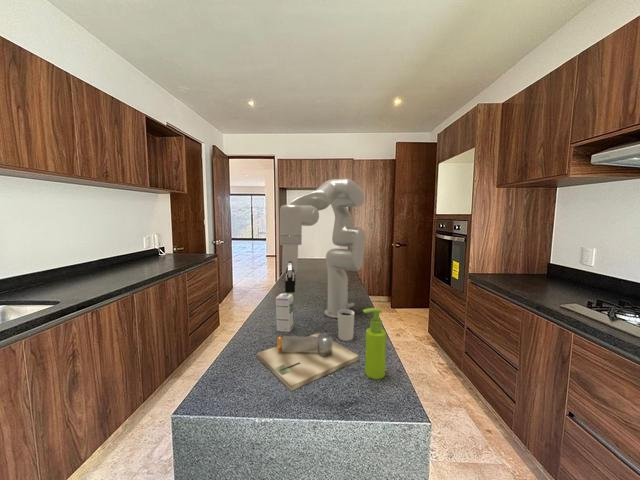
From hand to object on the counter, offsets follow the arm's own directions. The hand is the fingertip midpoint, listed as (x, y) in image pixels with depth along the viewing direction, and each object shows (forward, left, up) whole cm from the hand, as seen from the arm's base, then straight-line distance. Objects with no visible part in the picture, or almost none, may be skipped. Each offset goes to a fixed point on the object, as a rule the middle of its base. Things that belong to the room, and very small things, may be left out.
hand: (290, 288), depth 96 cm
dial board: (0, +10, -22) cm, 24 cm away
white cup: (-21, +6, -22) cm, 31 cm away
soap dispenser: (-11, +29, -22) cm, 38 cm away
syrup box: (-6, -15, -22) cm, 27 cm away
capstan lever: (0, +9, -20) cm, 22 cm away
